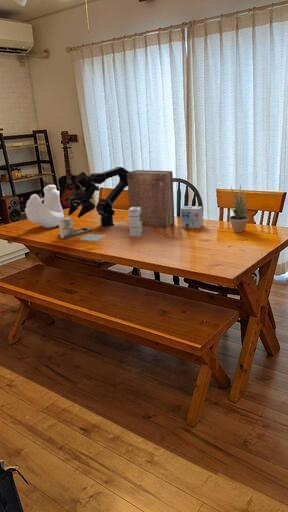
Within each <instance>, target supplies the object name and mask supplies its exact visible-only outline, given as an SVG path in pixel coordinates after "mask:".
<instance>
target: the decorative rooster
mask: <svg viewBox="0 0 288 512" xmlns="http://www.w3.org/2000/svg"><path fill="white" fill-rule="evenodd" d="M42 191H43V193H44V197H42V198H40V196H39V195H38V194H36V193H34V194H33V193H32V194H31V195H30V196H29V198H28V200H27V202H26V204H25V209H24V212H25V215H26V218H27V220H28V221H30V222H32V223H33V224H35V223H38V224H39V225H40V226H41V227H43V228H46V229H52V228H56V227H57V226H58V227H59V222H58V220H60V219H64V218H65V215H64V211H63V210H64V209H63V207H62V204H61V202H60V201H61V197H60V190H57V185H55V184H48V185H46V186H44V188H43V190H42ZM42 201H43V202H42Z"/></svg>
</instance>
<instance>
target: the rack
mask: <svg viewBox="0 0 288 512" xmlns="http://www.w3.org/2000/svg"><path fill="white" fill-rule="evenodd" d="M80 230H83V231H82V232H78V233H75V232H76V231H80ZM91 232H92V233H93V228H88V227H81V228H77V229H74V234H71V235H67V236H64V238H63V239H64V240H67V239H70V238H73V237H78V236H80V235H81V236H82V235H84V234H89V233H91ZM57 237H58V238H61V237H60V233H59V234H57Z"/></svg>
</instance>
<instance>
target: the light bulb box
mask: <svg viewBox="0 0 288 512" xmlns="http://www.w3.org/2000/svg"><path fill="white" fill-rule="evenodd" d="M203 223H204V222H203V206H197V205H195V206H191V205H184V206H182V207H181V208H180V225H181V228H185V229H186V228H187V229H188V228H189V229H200V228H202V227H203Z"/></svg>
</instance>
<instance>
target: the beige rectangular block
mask: <svg viewBox="0 0 288 512" xmlns="http://www.w3.org/2000/svg"><path fill="white" fill-rule="evenodd" d="M58 222H59V225H58V228H59V234H60V237H59V238H61V239H64V236H67V235H71V234H75V233H74V230H75V229H74V228H75V227H74V221H73V217H70V216H69V217H64V219H60V220H58Z"/></svg>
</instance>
